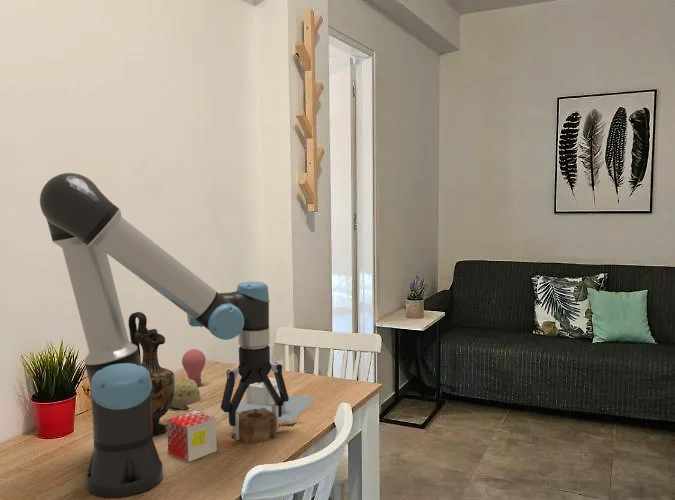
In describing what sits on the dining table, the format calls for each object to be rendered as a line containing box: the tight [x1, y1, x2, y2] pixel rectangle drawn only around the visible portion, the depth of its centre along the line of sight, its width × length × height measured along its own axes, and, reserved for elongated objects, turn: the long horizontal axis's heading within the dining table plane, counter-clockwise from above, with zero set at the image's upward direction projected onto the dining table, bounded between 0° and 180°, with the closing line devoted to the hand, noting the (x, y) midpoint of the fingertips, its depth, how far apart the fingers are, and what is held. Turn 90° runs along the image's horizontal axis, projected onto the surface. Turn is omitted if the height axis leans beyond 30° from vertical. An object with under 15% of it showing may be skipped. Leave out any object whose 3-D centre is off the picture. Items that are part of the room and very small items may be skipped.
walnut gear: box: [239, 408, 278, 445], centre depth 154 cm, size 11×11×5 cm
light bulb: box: [181, 348, 207, 387], centre depth 192 cm, size 7×7×12 cm
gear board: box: [225, 382, 317, 428], centre depth 170 cm, size 19×19×8 cm
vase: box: [128, 311, 176, 436], centre depth 156 cm, size 12×12×30 cm
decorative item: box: [169, 376, 201, 410], centre depth 176 cm, size 10×10×10 cm
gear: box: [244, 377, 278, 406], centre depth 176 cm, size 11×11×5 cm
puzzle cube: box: [166, 410, 218, 463], centre depth 144 cm, size 8×8×8 cm
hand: (256, 433), depth 154 cm, fingers open, 10 cm apart
